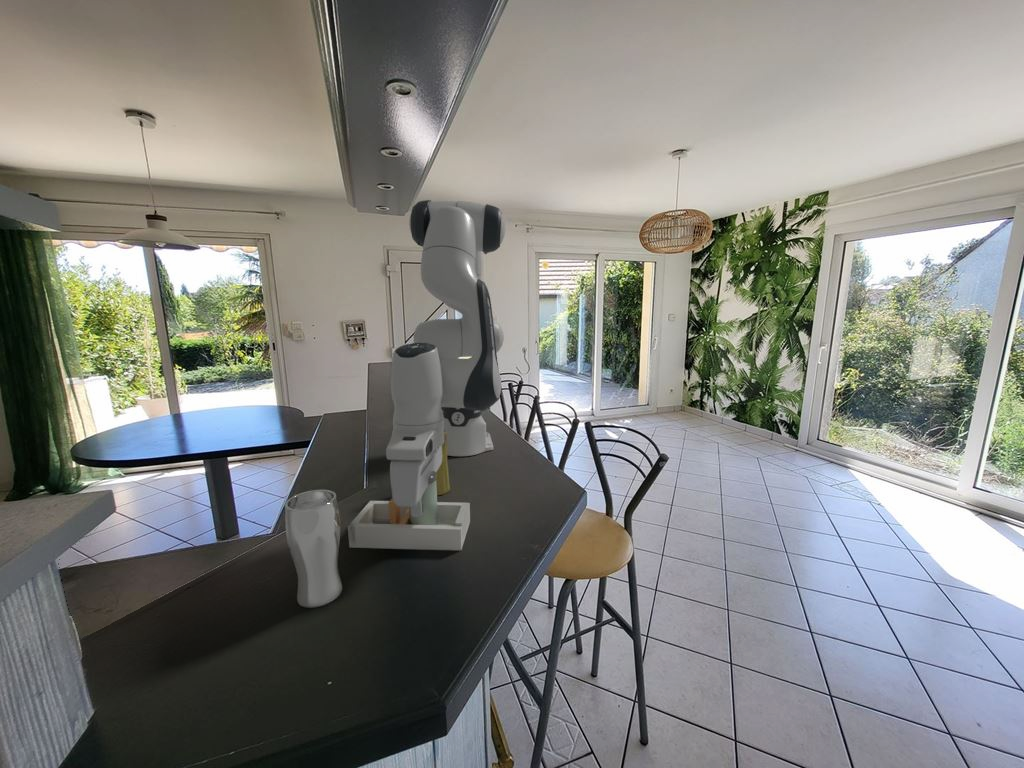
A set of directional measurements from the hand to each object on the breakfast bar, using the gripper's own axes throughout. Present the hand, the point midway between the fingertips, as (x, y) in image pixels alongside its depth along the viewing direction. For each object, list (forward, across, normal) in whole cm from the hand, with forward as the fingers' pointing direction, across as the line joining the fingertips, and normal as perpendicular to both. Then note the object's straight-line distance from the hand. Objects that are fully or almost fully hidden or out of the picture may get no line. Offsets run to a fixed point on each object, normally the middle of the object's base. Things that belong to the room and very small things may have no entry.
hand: (422, 506), depth 76 cm
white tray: (+6, 0, -2) cm, 6 cm away
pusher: (+4, 0, -6) cm, 7 cm away
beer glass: (+6, +17, -11) cm, 21 cm away
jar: (+4, 0, 0) cm, 4 cm away
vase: (+6, -19, -2) cm, 20 cm away
